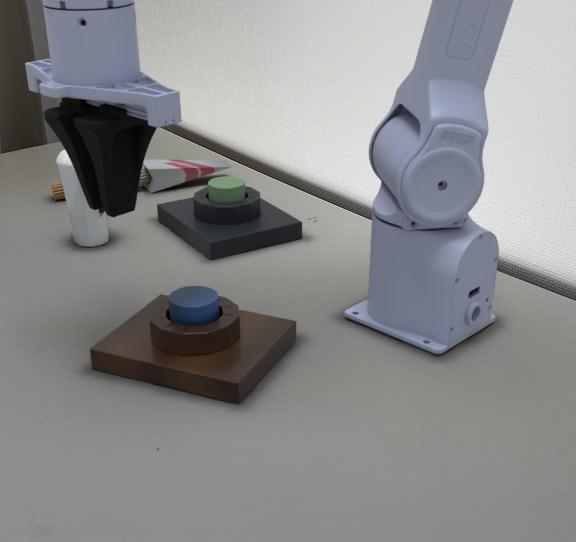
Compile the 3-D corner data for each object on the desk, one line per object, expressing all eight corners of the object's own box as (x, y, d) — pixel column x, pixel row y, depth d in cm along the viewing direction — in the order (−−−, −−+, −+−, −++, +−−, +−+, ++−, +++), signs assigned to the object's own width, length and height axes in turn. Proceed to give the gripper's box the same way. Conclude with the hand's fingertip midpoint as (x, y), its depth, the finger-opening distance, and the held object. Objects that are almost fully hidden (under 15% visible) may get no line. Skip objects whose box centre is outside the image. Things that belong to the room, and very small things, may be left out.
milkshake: (113, 252, 82) (101, 146, 77) (60, 247, 83) (44, 143, 78) (130, 234, 86) (119, 132, 81) (79, 230, 87) (65, 129, 82)
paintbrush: (232, 155, 98) (53, 184, 92) (234, 179, 99) (58, 209, 93) (222, 146, 101) (48, 173, 95) (224, 169, 102) (52, 197, 97)
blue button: (227, 311, 65) (227, 290, 64) (204, 332, 62) (203, 310, 61) (185, 303, 66) (184, 282, 65) (160, 323, 63) (158, 301, 62)
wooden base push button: (296, 340, 67) (296, 299, 65) (239, 404, 59) (237, 359, 58) (162, 312, 71) (159, 273, 69) (91, 369, 64) (85, 326, 62)
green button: (252, 201, 85) (251, 183, 84) (219, 208, 83) (218, 190, 82) (234, 191, 88) (233, 173, 87) (202, 197, 86) (201, 180, 85)
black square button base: (302, 238, 85) (302, 203, 83) (210, 259, 80) (209, 223, 79) (243, 202, 94) (242, 170, 92) (157, 220, 89) (155, 186, 87)
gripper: (-27, -1, 57) (8, 199, 64) (105, 24, 48) (129, 252, 55) (64, -12, 61) (88, 177, 68) (201, 10, 53) (212, 223, 60)
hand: (112, 209), depth 62 cm, fingers closed
